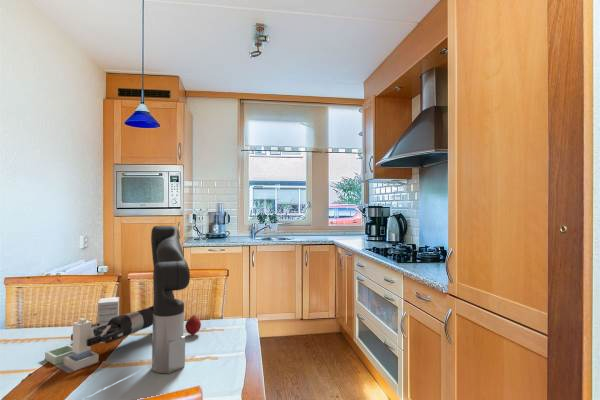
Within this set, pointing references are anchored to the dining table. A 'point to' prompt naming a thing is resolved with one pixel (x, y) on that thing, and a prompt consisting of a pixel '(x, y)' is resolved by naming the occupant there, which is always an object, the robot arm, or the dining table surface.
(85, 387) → the dining table surface
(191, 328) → the onion
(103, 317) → the supplement box
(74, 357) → the milk carton
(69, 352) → the double bin tray
